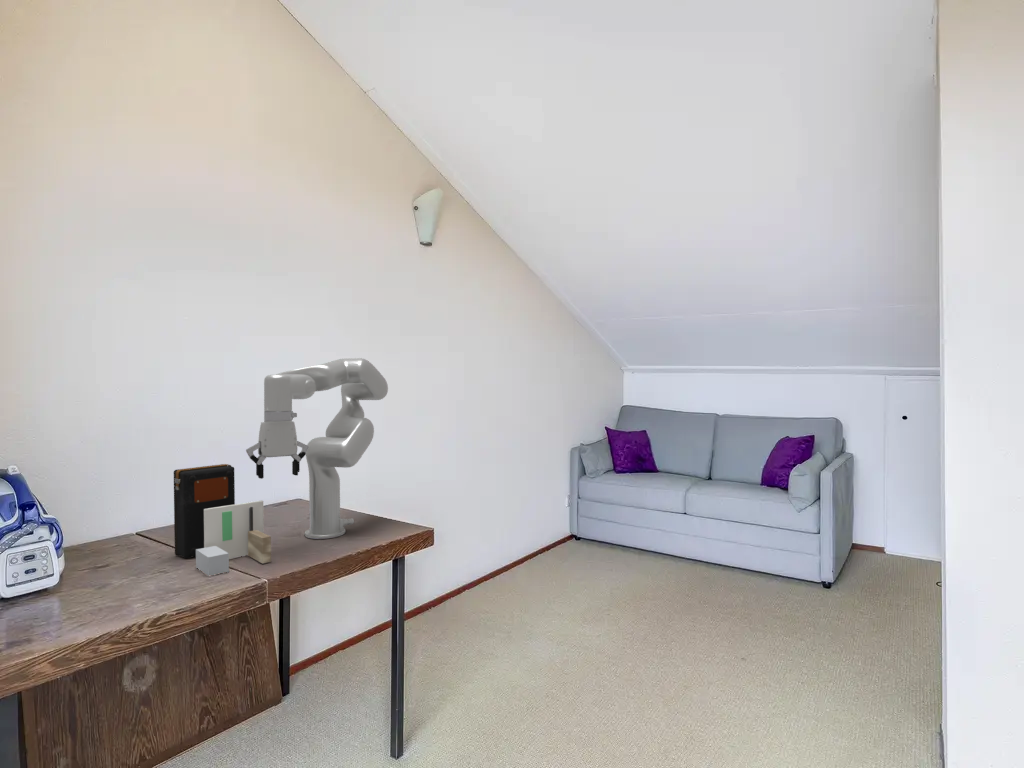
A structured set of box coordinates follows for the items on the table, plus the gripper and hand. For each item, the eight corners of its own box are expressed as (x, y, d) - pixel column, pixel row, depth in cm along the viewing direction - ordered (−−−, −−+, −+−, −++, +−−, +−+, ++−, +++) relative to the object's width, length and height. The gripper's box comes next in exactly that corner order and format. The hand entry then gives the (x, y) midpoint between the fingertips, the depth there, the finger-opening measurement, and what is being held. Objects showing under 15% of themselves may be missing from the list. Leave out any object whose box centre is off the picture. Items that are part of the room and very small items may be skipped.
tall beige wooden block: (255, 553, 174) (255, 506, 174) (271, 561, 167) (270, 512, 166) (247, 555, 173) (246, 507, 172) (262, 563, 165) (261, 513, 165)
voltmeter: (225, 543, 186) (224, 462, 186) (239, 548, 181) (238, 465, 180) (171, 555, 174) (170, 469, 174) (184, 561, 168) (183, 471, 168)
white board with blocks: (262, 551, 178) (261, 500, 177) (281, 560, 169) (280, 507, 168) (192, 565, 164) (191, 510, 164) (208, 576, 155) (207, 518, 155)
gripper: (304, 415, 183) (304, 472, 183) (243, 417, 172) (243, 477, 172) (312, 416, 177) (312, 475, 177) (249, 419, 166) (249, 481, 166)
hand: (278, 476), depth 174 cm, fingers open, 9 cm apart
